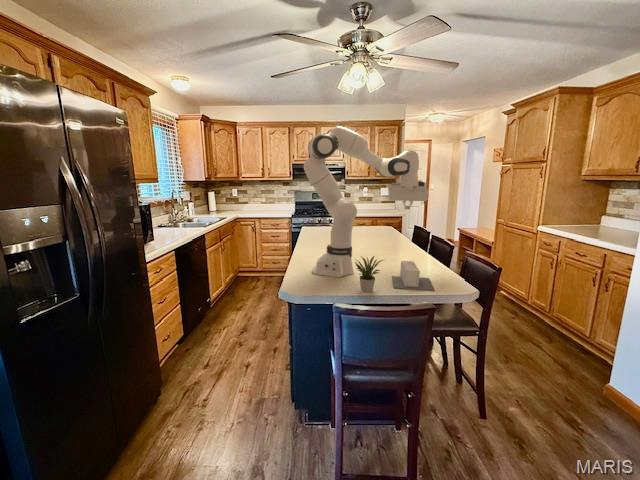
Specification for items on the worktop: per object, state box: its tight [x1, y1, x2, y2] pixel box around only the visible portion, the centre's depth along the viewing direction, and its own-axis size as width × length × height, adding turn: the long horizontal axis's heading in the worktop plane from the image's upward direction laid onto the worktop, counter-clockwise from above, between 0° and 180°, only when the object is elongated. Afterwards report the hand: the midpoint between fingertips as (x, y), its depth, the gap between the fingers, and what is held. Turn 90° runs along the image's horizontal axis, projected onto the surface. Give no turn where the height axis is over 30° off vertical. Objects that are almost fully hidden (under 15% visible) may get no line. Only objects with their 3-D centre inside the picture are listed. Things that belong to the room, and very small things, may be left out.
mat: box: [391, 275, 436, 292], centre depth 144 cm, size 18×16×1 cm
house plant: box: [354, 255, 384, 294], centre depth 135 cm, size 14×14×16 cm
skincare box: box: [399, 260, 421, 287], centre depth 145 cm, size 8×7×16 cm
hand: (407, 209), depth 161 cm, fingers closed
